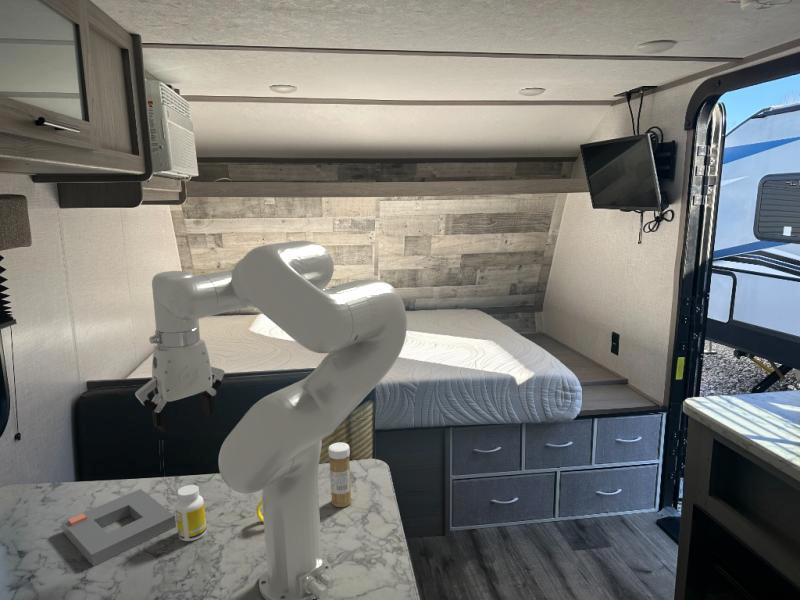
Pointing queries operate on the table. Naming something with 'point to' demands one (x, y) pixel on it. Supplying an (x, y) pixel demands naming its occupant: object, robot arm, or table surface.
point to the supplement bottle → (190, 513)
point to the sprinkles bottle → (340, 474)
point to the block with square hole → (107, 545)
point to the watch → (259, 511)
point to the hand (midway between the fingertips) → (185, 420)
